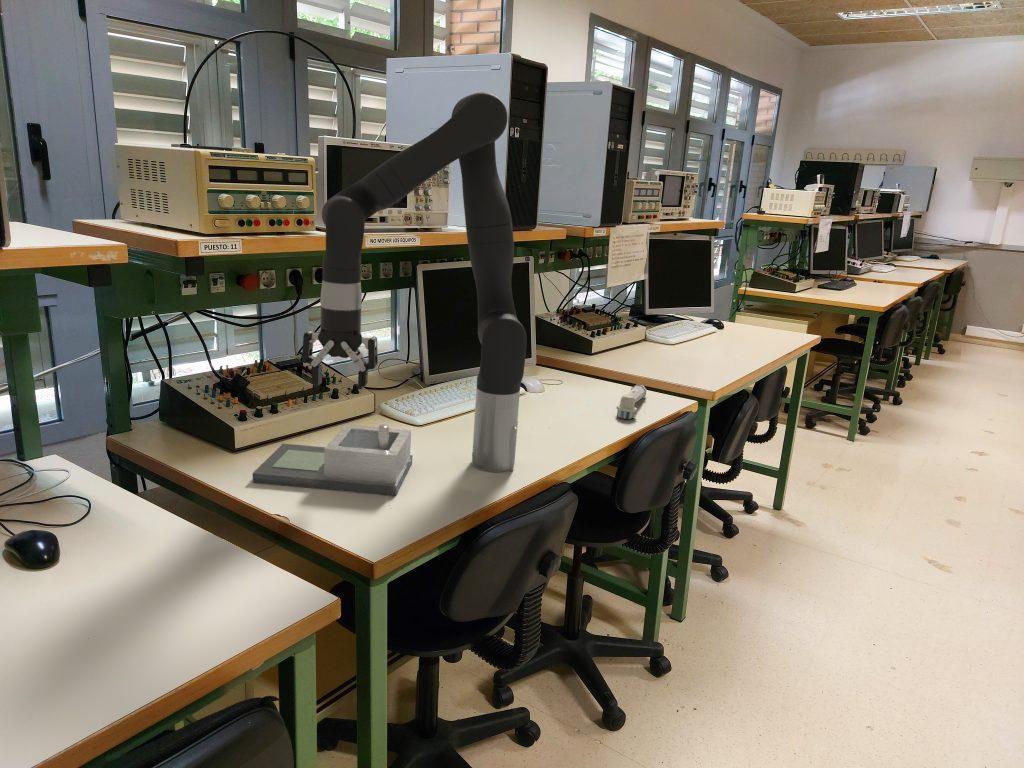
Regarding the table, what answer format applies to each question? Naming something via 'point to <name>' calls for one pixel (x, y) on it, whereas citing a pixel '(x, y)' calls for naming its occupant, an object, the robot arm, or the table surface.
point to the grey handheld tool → (630, 402)
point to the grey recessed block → (366, 455)
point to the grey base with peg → (319, 470)
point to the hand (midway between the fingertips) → (339, 386)
